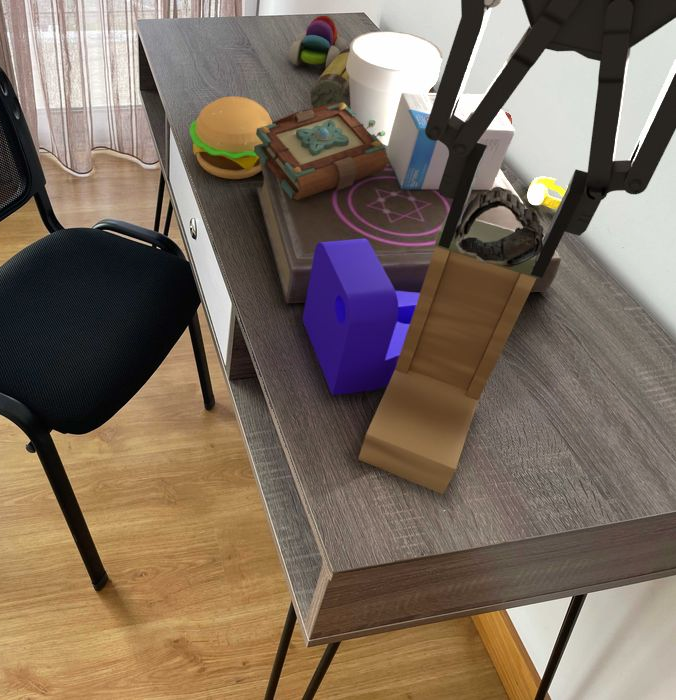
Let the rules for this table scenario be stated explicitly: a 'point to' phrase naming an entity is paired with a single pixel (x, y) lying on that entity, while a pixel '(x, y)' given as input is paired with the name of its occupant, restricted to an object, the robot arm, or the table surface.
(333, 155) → the decorative book
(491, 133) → the ink box
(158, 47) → the table surface
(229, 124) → the hamburger
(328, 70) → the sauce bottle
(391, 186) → the book
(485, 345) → the two-tone angled block
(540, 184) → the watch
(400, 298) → the bracket
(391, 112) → the cup
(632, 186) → the robot arm
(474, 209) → the wristwatch
